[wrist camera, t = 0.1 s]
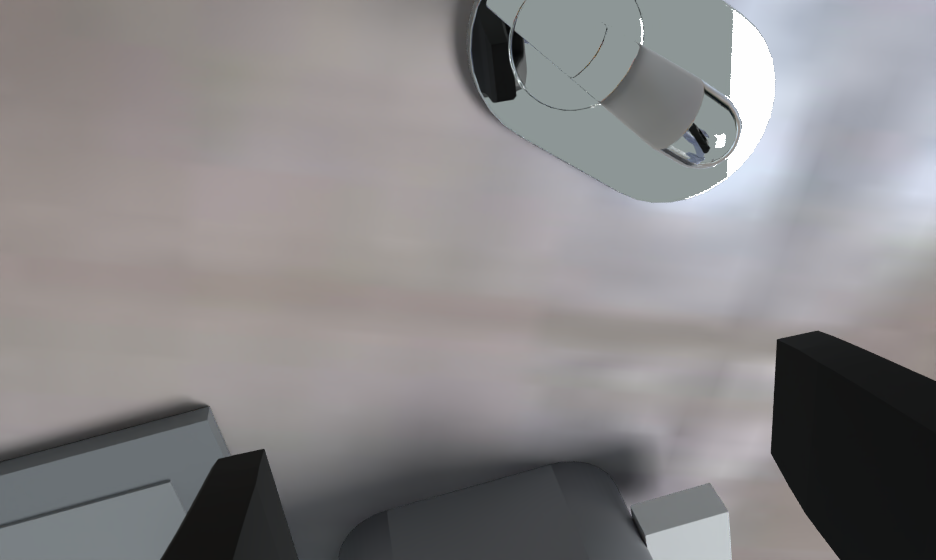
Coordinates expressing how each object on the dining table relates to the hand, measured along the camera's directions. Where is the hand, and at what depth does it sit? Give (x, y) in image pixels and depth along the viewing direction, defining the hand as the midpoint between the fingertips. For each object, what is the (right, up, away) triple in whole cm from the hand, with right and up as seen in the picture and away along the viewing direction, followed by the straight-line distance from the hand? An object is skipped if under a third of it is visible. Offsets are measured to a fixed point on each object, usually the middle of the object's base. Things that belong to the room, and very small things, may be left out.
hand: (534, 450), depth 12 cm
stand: (+3, +7, +8) cm, 12 cm away
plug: (+1, -5, +14) cm, 15 cm away
